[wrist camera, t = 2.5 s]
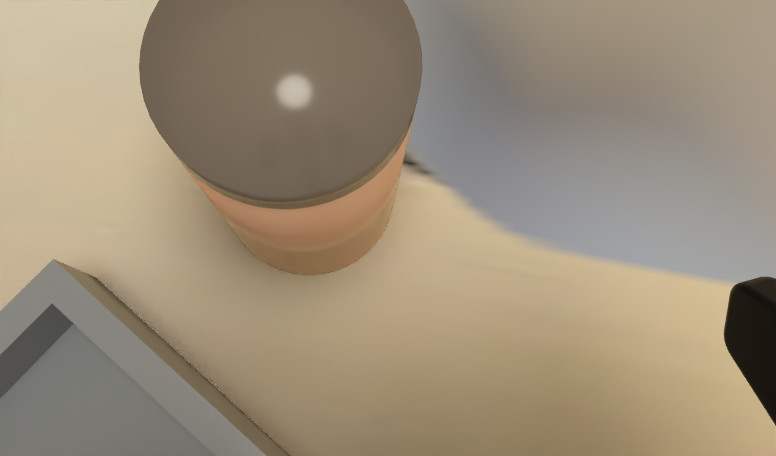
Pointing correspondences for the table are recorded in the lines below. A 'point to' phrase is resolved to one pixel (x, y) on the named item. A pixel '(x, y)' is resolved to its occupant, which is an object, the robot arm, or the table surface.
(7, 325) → the tray
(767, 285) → the robot arm
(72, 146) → the table surface
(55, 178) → the table surface
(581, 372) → the table surface
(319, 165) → the terracotta jar
